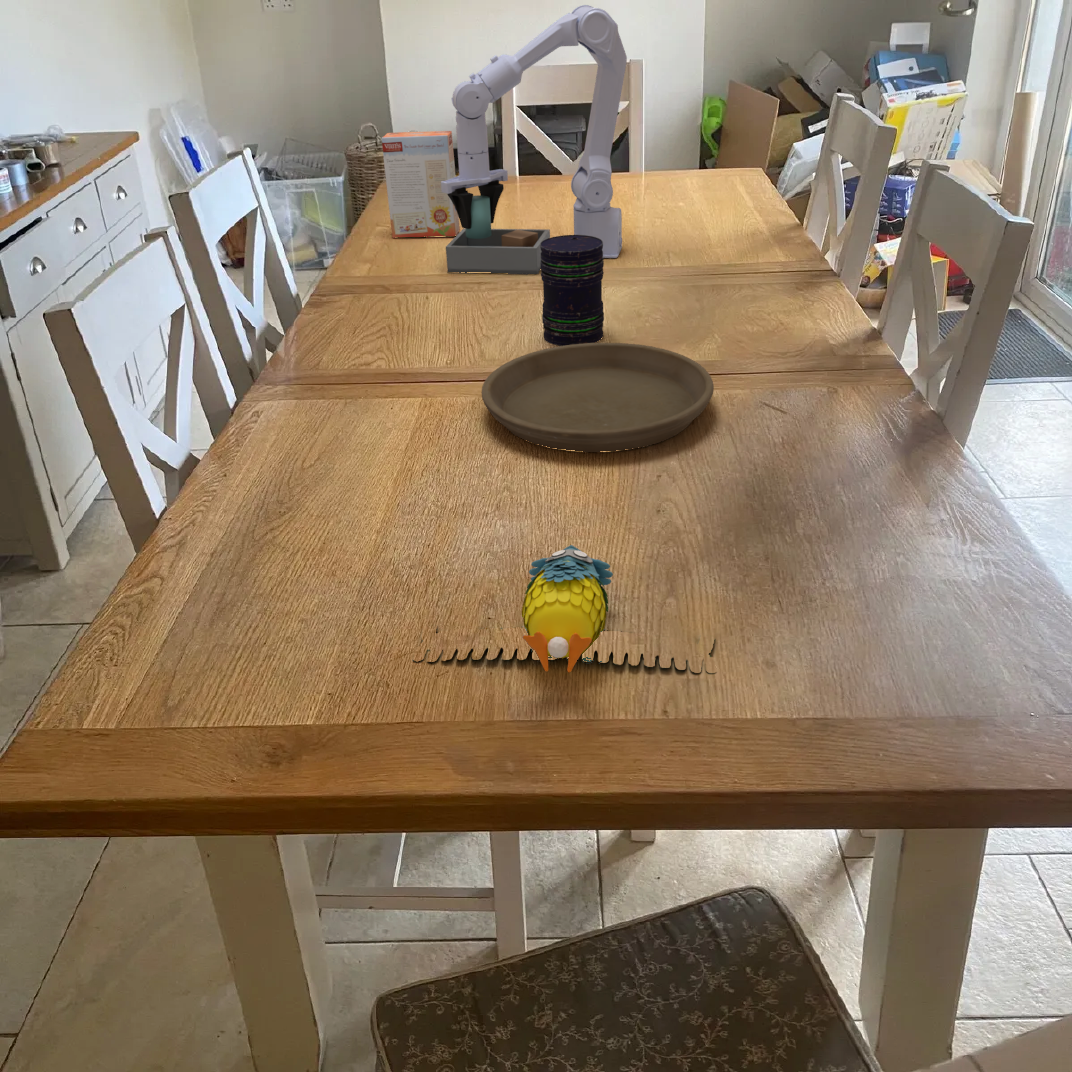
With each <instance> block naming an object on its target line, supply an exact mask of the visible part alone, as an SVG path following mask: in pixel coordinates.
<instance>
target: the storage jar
mask: <svg viewBox="0 0 1072 1072" xmlns="http://www.w3.org/2000/svg"><path fill="white" fill-rule="evenodd" d="M540 248H541V251H542V252H541V260H540V266H541V270H540V272H541V273H540V277H541V281H542V282H543V283H542V288H543V293H542V294H543V302H542V305H541V306H542V314H541V317H542V318H541V319H542V322H541V323H542V326H543V328H542V329H543V331H544V332H543V335H542V336H543V339H544V341H545V342H546V343H549V344H551V345H554V346H557V347H559V346H565V345H573V344H584V343H595V342H596V343H598V342H600V341H601V340H602V339H603V338H602V337H604V329H603V328H604V321H605V313H604V301H603V300H602V296H603V295H602V294H603V293H602V292H603V290H602V288H603V287H602V286H603V285H602V284H603V283H602V280H603V278H604V273H605V272H604V265H605V263H604V261H605V260H604V259H605V258H603V251H602V249H603V241H602V240H601V239H599V238H597V237H593V236H587V235H574V234H565V235H564V234H563V235H557V236H552V237H551V236H550V238H548V239H545V240H543V241H542V242H541V243H540ZM601 338H602V339H601ZM599 340H600V341H599ZM597 341H598V342H597Z"/></svg>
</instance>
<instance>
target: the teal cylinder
mask: <svg viewBox="0 0 1072 1072" xmlns="http://www.w3.org/2000/svg"><path fill="white" fill-rule="evenodd" d="M491 229H492V223H491V215H490V198H489V197H488V196H482V195H480V194H478V195H477V194H476V195H473V198H472V204H471V229H466V228H465V230H466V237H467V238H471V239H482V238H487V237H490V236H491V235H492V233H491Z"/></svg>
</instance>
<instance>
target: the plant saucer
mask: <svg viewBox="0 0 1072 1072" xmlns="http://www.w3.org/2000/svg"><path fill="white" fill-rule="evenodd" d="M714 388H715V387H714V381H713V379H712V376H711V374H710V373H709V372H708V371H707V370H706V368H704V367H703V366H702V365H701V364H700V363H698V362H696V361H695V360H694V359H691V358H689V357H687V356H685V355H684V354H682V353H681V354H680V353H679V352H678V353H677V352H675V351H672V350H669V349H665V348H660V347H655V346H650V345H645V344H637V343H636V344H635V343H626V342H625V343H624V342H596V343H584V344H573V345H565V346H555V347H554V346H553V347H550V348H549V347H548V348H545V349H540V350H536V351H533V352H529V353H527V354H523V355H521V356H518V357H516V358H513V359H511V360H509V361H508V362H505V363H504V364H502V365H500V366H499V367H498V368H496V369H495V370H493V371H492V372H491V373H490V374H489V375H488V376H487V377H486V379H485V380H484V382H483V384H482V387H481V399H482V402H483V403H484V405H485V408H486V409H487V410H488V411H489V412H490V414H491V416H493V418H494V419H495V420H496V421H497V422H499V423H500V424H501V425H503V426H504V427H505V428H506V429H507V430H508V431H509V432H510V431H511V432H510V433H511V434H512V435H514V436H516V437H517V436H518V437H517V438H519V437H520V439H521V438H522V439H521V440H523V439H524V440H523V441H525V440H527V441H529V442H528V443H530V442H532V443H534V444H533V445H535V444H539V445H543V446H547V447H550V448H557V449H566V450H575V451H583V452H600V451H616V450H625V449H632V448H638V447H642V448H644V447H643V446H646V447H648V446H647V445H650V446H652V445H651V444H654V445H655V444H656V445H657V444H659V443H661V441H662V442H664V440H665V441H667V440H669V439H671V438H673V437H675V436H676V435H678V434H680V433H681V432H682V431H684V430H686V429H687V427H689V425H690V424H692V422H693V420H694V419H696V418H697V417H699V416H700V415H701V414H702V413H703V412H704V410H705V409H706V408H707V406H708V404H709V403H710V402H711V399H712V396H713V394H714ZM666 439H667V440H666ZM527 441H526V442H527ZM532 443H531V444H532ZM539 445H538V446H539ZM550 448H549V449H550ZM638 449H639V448H638Z"/></svg>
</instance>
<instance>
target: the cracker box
mask: <svg viewBox="0 0 1072 1072" xmlns="http://www.w3.org/2000/svg"><path fill="white" fill-rule="evenodd" d="M380 140H381V145H382V146H381V147H382V156H383V165H384V173H385V174H384V175H385V176H384V177H385V183H386V193H387V203H388V210H389V218H390V220H389V221H390V229H391V236H392V239H396V238H395V237H424V236H425V237H426V236H427V237H426V238H429V237H428V236H455V235H456V236H457V235H458V234H459V233H460V231H461V227H460V226H461V225H460V219H459V216H458V213H457V211H456V209H455V206H454V205H453V203H452V201H451V199H450V198H449V196H448V195H447V193H443V192H442V190H441V182H442V181H446V180H449V179H452V178H454V177H456V166H455V157H454V156H455V154H454V143H453V142H454V141H453V140H454V139H453V132H452V130H438V131H437V130H436V131H430V130H429V131H428V130H427V131H405V132H404V131H401V132H387V133H386V134H385V135H384V136H382V137H381V139H380ZM459 230H460V231H459Z"/></svg>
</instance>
